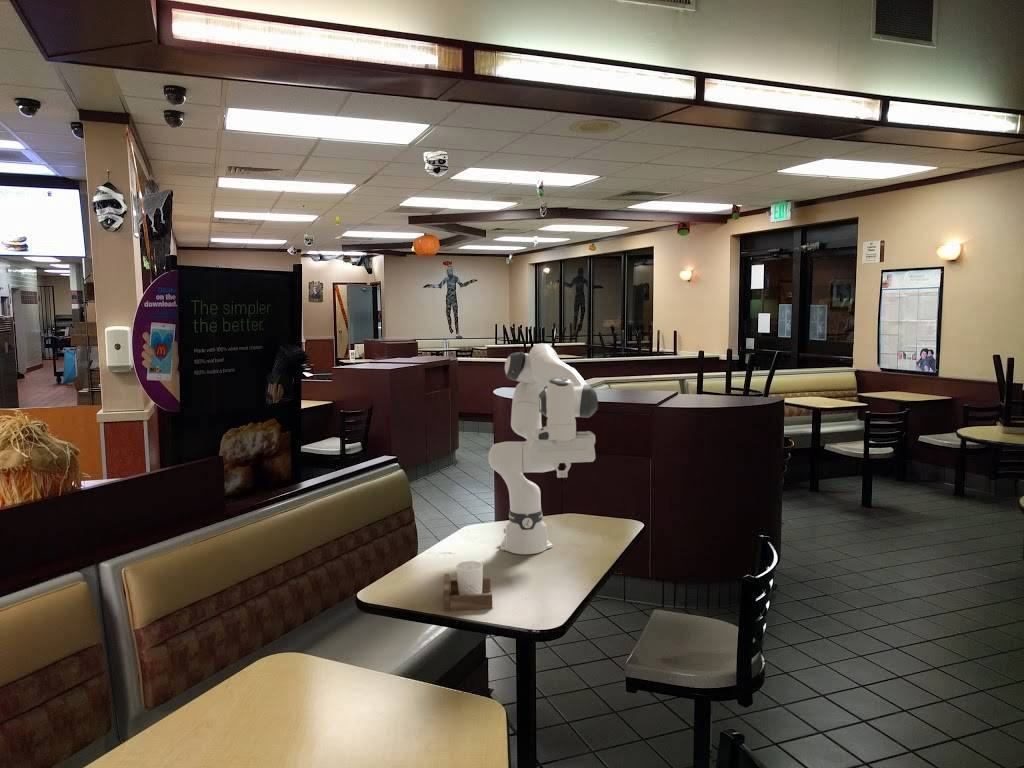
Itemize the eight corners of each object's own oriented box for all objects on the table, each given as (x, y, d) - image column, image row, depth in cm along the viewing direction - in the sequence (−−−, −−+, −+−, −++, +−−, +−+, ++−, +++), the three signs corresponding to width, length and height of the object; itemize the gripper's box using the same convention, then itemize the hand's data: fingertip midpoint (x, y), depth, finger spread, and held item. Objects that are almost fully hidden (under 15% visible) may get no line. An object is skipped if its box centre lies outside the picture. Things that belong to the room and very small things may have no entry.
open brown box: (445, 593, 206) (444, 573, 205) (490, 590, 207) (489, 571, 206) (444, 611, 193) (443, 590, 192) (492, 608, 194) (491, 587, 193)
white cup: (471, 606, 196) (470, 572, 195) (451, 599, 201) (450, 566, 200) (489, 596, 202) (488, 564, 201) (469, 590, 207) (468, 559, 206)
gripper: (593, 429, 209) (593, 473, 210) (527, 431, 207) (528, 476, 208) (597, 432, 202) (598, 477, 204) (529, 435, 201) (530, 480, 202)
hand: (562, 477), depth 206 cm, fingers closed
